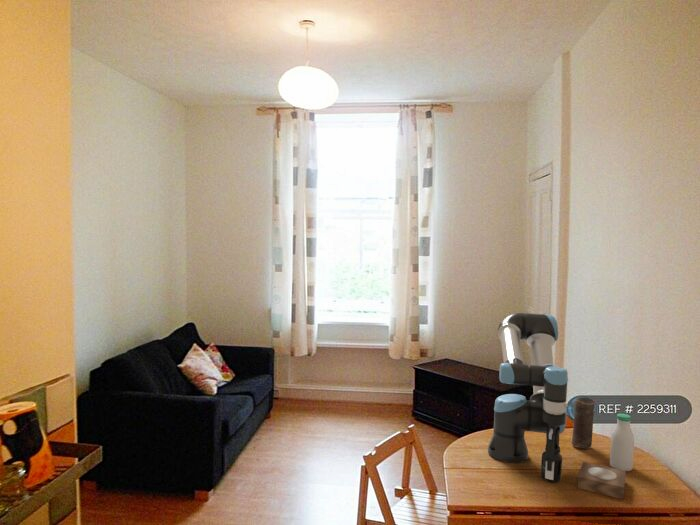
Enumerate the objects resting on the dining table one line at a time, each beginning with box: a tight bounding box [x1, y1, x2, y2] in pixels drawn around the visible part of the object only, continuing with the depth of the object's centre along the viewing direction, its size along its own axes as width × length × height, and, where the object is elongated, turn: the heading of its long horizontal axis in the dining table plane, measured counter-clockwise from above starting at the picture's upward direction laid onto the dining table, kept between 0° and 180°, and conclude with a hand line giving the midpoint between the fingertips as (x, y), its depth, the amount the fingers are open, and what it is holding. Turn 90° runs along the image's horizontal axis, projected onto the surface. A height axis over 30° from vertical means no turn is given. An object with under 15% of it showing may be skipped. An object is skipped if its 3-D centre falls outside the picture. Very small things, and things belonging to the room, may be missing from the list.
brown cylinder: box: [571, 396, 596, 450], centre depth 215 cm, size 8×7×20 cm
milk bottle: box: [609, 413, 635, 472], centre depth 197 cm, size 8×8×20 cm
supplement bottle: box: [540, 444, 563, 484], centre depth 186 cm, size 7×7×12 cm
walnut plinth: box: [577, 461, 627, 500], centre depth 183 cm, size 14×14×4 cm
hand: (551, 474), depth 187 cm, fingers closed on supplement bottle, 7 cm apart
